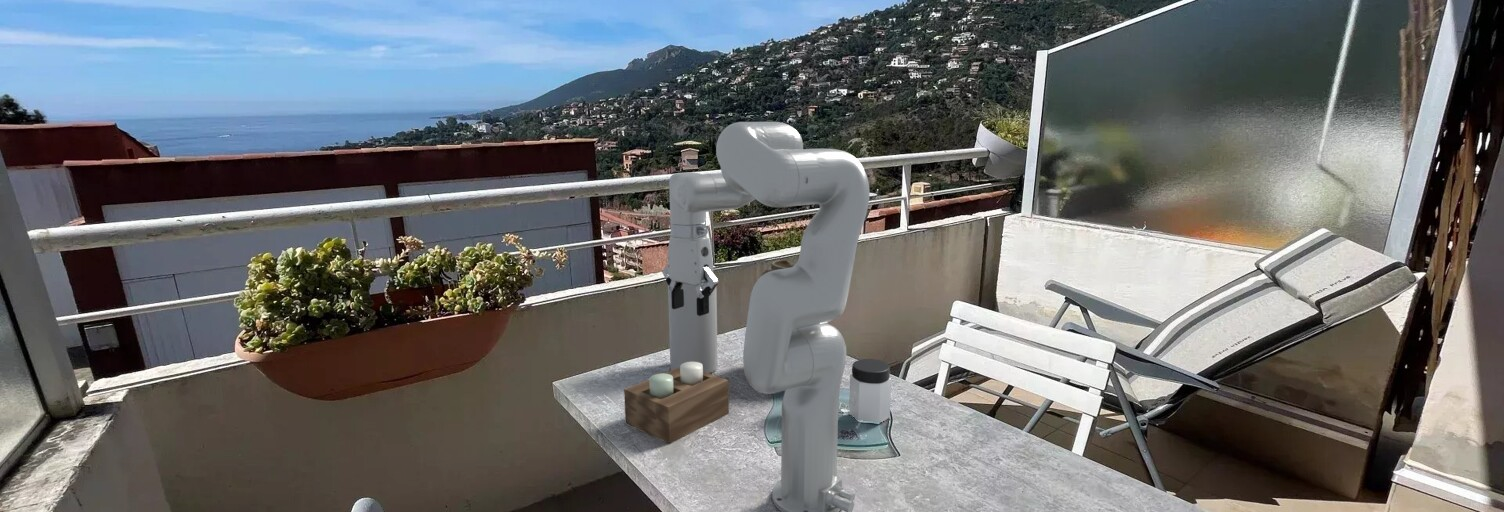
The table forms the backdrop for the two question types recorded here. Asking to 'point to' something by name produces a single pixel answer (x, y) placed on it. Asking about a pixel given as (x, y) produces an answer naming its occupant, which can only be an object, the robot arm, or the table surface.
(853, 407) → the jar
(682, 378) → the ivory button
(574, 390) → the table surface
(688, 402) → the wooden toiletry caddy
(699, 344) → the cylinder vase
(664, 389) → the sage button
